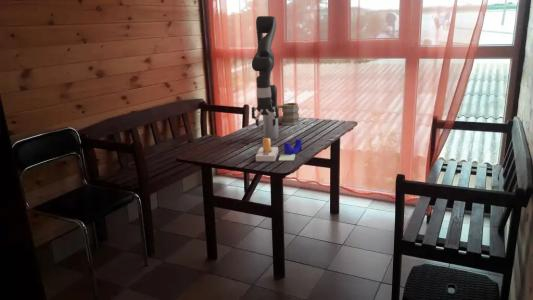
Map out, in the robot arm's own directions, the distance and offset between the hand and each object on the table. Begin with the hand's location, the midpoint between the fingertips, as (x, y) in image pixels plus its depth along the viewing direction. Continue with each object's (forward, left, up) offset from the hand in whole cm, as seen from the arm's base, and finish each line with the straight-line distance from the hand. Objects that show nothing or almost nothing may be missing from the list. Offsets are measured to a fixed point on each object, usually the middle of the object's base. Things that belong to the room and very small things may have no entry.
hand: (265, 126), depth 234 cm
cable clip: (-7, +14, -17) cm, 23 cm away
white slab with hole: (0, 0, -17) cm, 17 cm away
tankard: (-77, +2, -17) cm, 79 cm away
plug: (0, 0, -17) cm, 17 cm away
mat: (+3, +11, -17) cm, 21 cm away
